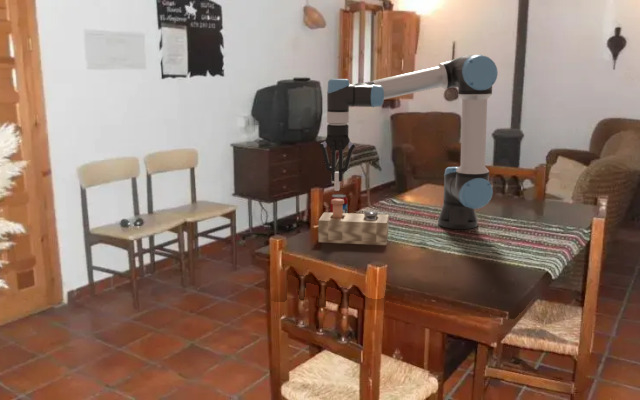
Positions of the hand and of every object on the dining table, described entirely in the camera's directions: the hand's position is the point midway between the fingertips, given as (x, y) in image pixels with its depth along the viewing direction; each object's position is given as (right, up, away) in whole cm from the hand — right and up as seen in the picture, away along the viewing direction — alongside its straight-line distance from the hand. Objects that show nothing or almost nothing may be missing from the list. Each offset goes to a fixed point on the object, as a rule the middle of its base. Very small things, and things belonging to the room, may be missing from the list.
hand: (336, 190), depth 216 cm
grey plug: (+12, -16, +2) cm, 20 cm away
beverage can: (+1, -14, +22) cm, 26 cm away
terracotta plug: (0, -12, +3) cm, 12 cm away
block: (+6, -18, +3) cm, 19 cm away
